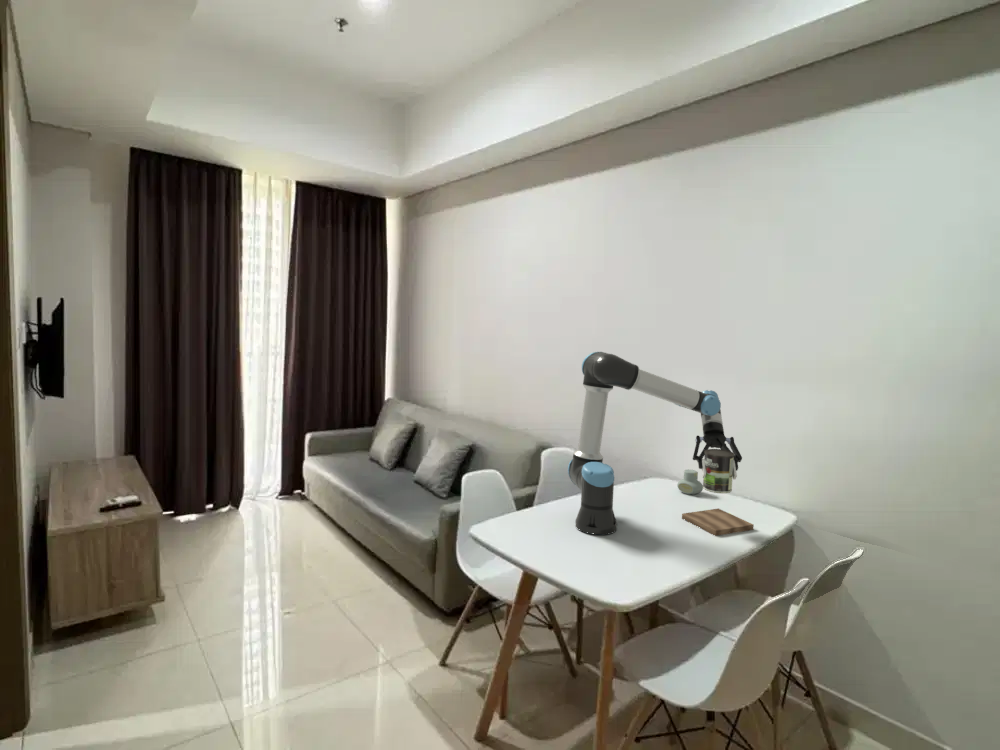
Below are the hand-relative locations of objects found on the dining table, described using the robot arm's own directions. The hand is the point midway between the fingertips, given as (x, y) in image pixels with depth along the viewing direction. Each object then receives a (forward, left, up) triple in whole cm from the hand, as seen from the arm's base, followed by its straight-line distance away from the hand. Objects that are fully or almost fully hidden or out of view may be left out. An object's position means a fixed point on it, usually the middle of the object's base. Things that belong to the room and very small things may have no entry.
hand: (719, 476), depth 201 cm
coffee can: (+2, +2, -6) cm, 6 cm away
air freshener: (+20, +39, -21) cm, 48 cm away
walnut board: (+4, +5, -20) cm, 21 cm away
